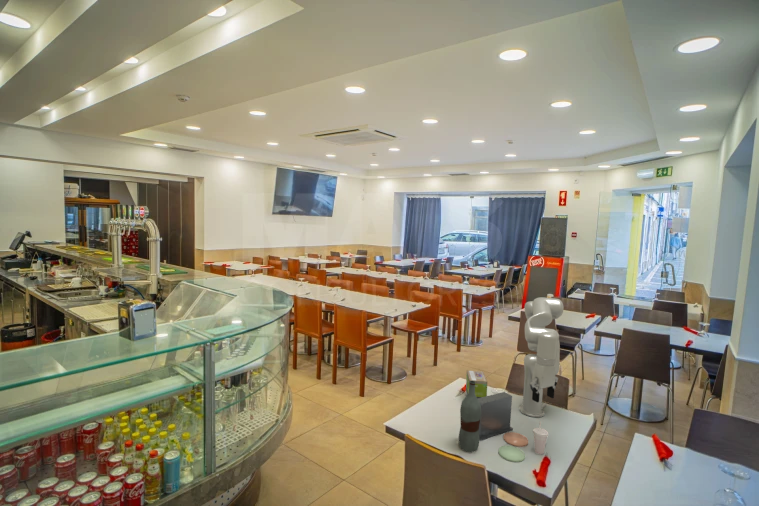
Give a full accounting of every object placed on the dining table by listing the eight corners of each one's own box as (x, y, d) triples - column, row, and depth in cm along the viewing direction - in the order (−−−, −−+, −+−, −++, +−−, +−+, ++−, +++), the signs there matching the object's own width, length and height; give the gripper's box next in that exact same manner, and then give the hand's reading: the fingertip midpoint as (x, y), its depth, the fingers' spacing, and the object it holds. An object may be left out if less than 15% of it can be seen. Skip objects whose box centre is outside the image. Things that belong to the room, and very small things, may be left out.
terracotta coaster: (514, 432, 193) (514, 430, 193) (533, 443, 184) (533, 441, 184) (498, 437, 188) (498, 435, 188) (516, 449, 178) (516, 447, 178)
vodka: (455, 441, 183) (459, 377, 181) (475, 441, 184) (479, 377, 181) (461, 452, 174) (465, 386, 171) (481, 452, 174) (486, 386, 172)
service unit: (502, 424, 201) (504, 390, 200) (512, 430, 195) (515, 396, 193) (468, 433, 190) (471, 398, 189) (479, 441, 184) (481, 404, 183)
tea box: (465, 394, 235) (466, 369, 234) (482, 395, 234) (483, 370, 233) (468, 405, 220) (469, 379, 219) (486, 407, 219) (488, 380, 218)
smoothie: (529, 448, 180) (531, 418, 179) (542, 448, 180) (544, 418, 179) (535, 456, 173) (538, 425, 172) (549, 456, 174) (552, 425, 173)
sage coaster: (510, 445, 181) (510, 443, 181) (530, 458, 172) (530, 455, 172) (493, 451, 176) (493, 449, 176) (512, 464, 166) (512, 462, 166)
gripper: (551, 355, 181) (548, 392, 182) (525, 360, 173) (522, 399, 174) (566, 361, 175) (563, 399, 176) (539, 366, 166) (536, 406, 167)
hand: (543, 399), depth 175 cm, fingers open, 9 cm apart
